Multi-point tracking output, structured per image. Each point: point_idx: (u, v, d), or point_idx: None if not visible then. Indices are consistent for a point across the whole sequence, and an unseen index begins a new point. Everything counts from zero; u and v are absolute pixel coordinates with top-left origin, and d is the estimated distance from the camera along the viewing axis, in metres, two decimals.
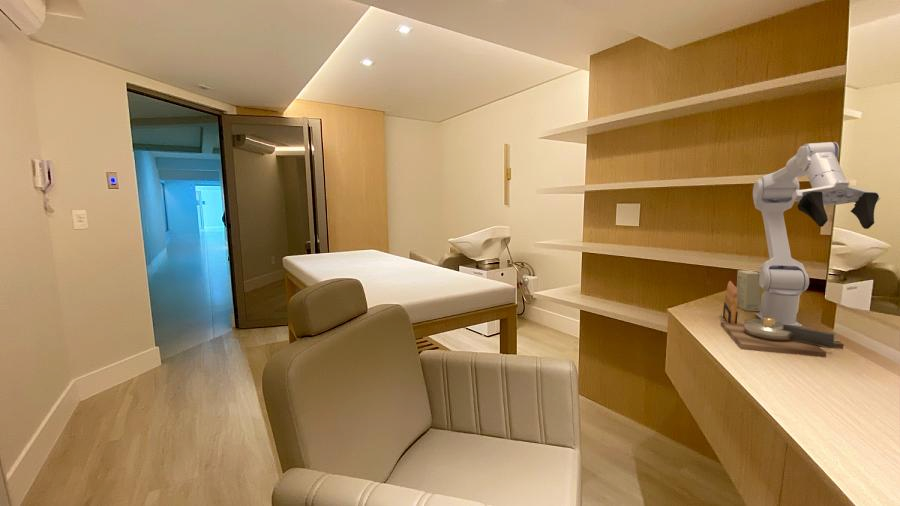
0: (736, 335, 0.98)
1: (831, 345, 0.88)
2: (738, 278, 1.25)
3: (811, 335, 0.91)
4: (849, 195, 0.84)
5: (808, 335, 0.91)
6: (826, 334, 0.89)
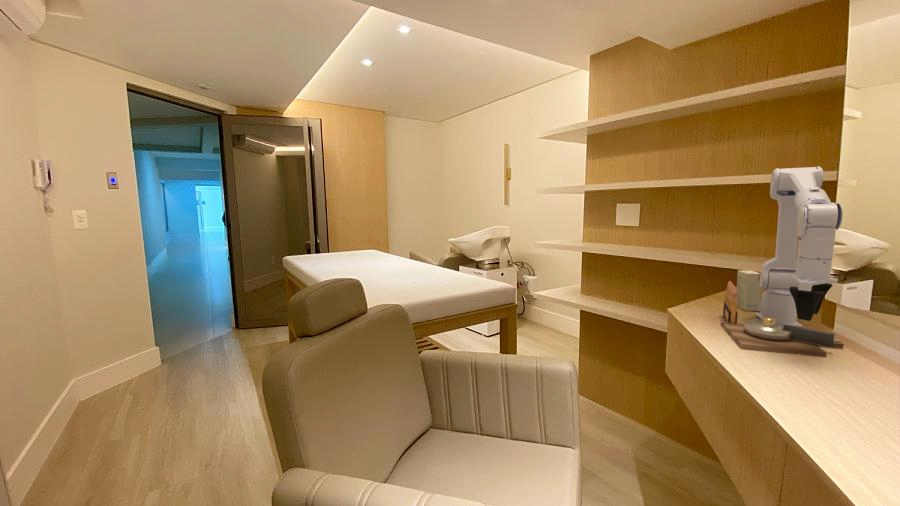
0: (736, 335, 0.98)
1: (831, 345, 0.88)
2: (738, 278, 1.25)
3: (811, 335, 0.91)
4: None
5: (808, 335, 0.91)
6: (826, 334, 0.89)
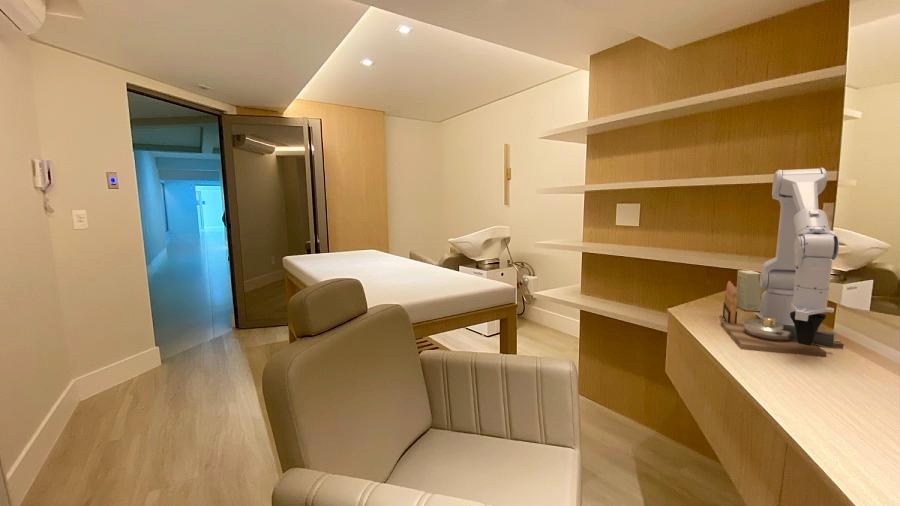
0: (736, 335, 0.98)
1: (831, 345, 0.88)
2: (738, 278, 1.25)
3: None
4: None
5: None
6: (826, 334, 0.89)
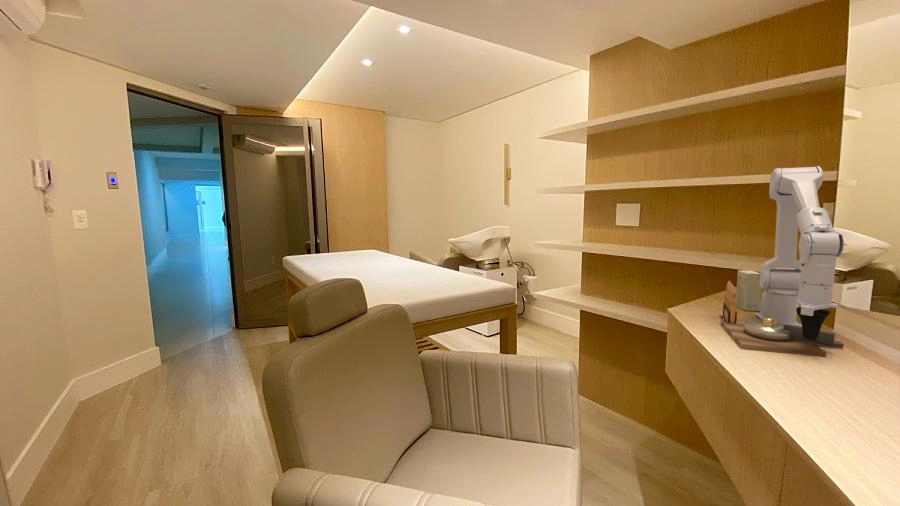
0: (736, 335, 0.98)
1: (832, 344, 0.89)
2: (738, 278, 1.25)
3: None
4: None
5: None
6: (827, 334, 0.89)
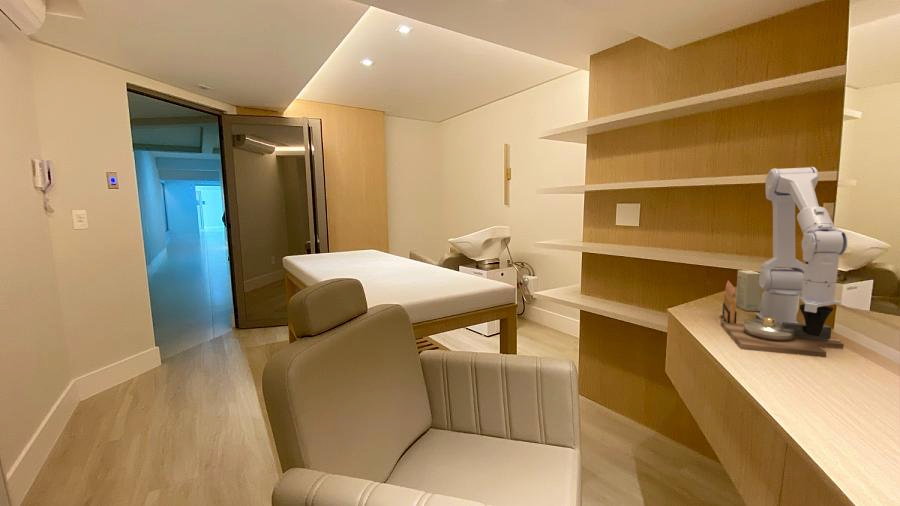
0: (736, 335, 0.98)
1: (829, 337, 0.93)
2: (738, 278, 1.25)
3: None
4: None
5: None
6: (824, 327, 0.93)
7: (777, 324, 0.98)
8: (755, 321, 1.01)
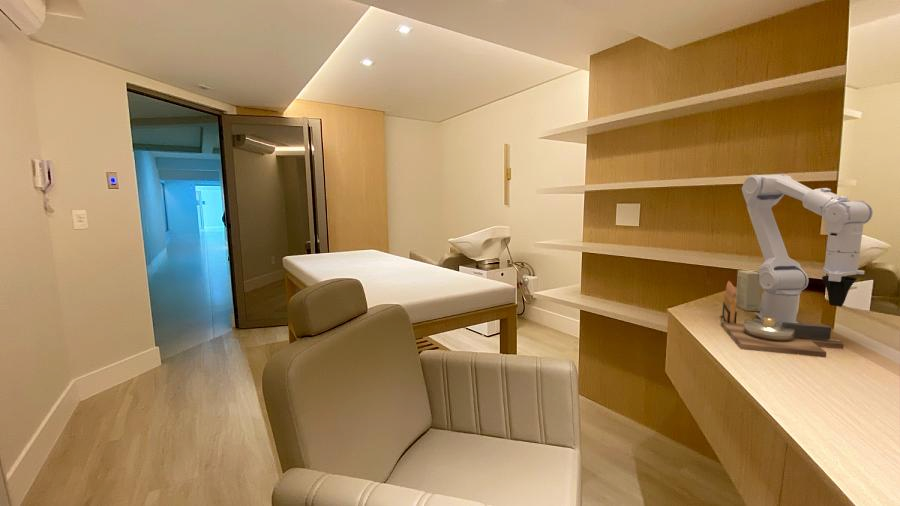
0: (736, 335, 0.98)
1: (828, 337, 0.93)
2: (738, 278, 1.25)
3: (811, 330, 0.94)
4: None
5: (808, 330, 0.94)
6: (824, 327, 0.93)
7: (777, 324, 0.98)
8: (755, 321, 1.01)
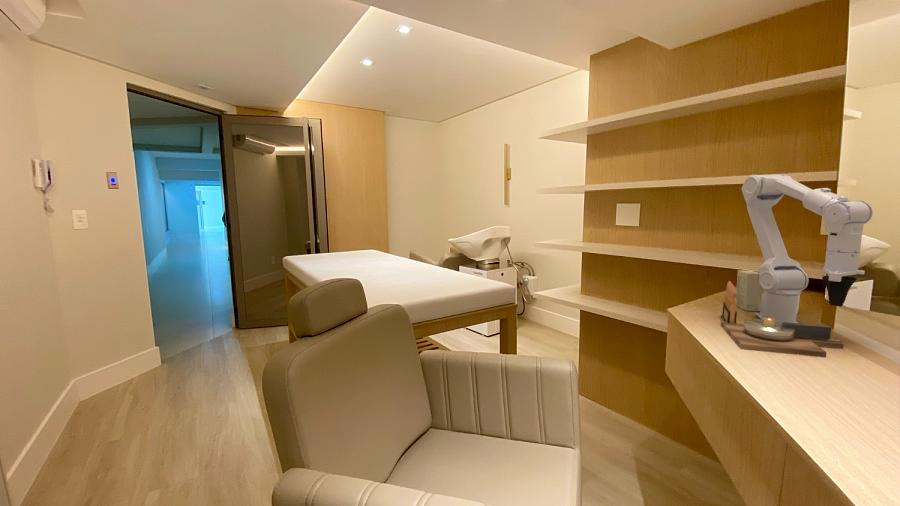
0: (736, 335, 0.98)
1: (828, 337, 0.93)
2: (738, 278, 1.25)
3: (811, 330, 0.94)
4: None
5: (808, 330, 0.94)
6: (824, 327, 0.93)
7: (777, 324, 0.98)
8: (755, 321, 1.01)
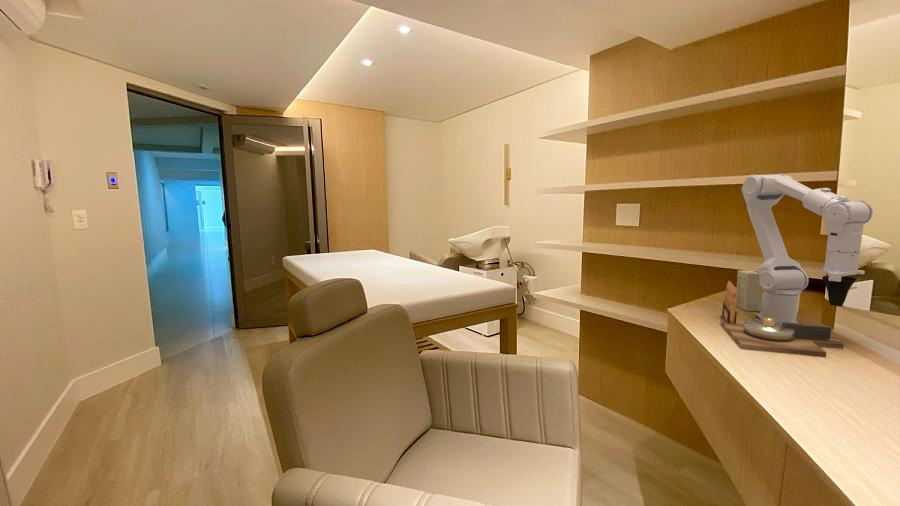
0: (736, 335, 0.98)
1: (828, 337, 0.93)
2: (738, 278, 1.25)
3: (811, 330, 0.94)
4: None
5: (808, 330, 0.94)
6: (824, 327, 0.93)
7: (777, 324, 0.98)
8: (755, 321, 1.01)
